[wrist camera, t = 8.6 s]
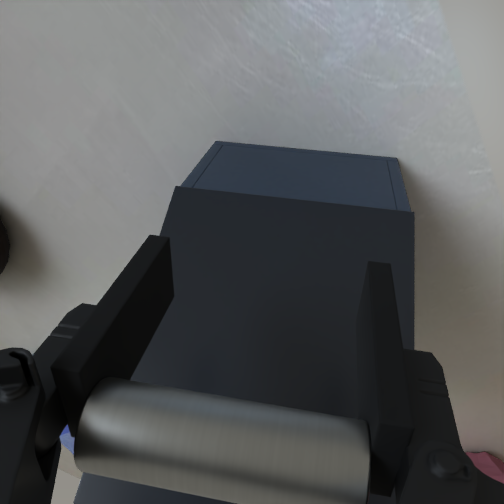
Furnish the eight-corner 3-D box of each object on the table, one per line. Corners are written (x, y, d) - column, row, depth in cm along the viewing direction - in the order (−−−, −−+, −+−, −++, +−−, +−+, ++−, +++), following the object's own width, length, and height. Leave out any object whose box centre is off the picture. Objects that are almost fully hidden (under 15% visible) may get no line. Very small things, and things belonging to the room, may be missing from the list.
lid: (409, 574, 17) (546, 649, 8) (80, 503, 19) (-96, 503, 10) (410, 219, 25) (482, 63, 16) (178, 193, 27) (127, 40, 18)
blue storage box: (361, 320, 41) (364, 397, 33) (217, 300, 43) (189, 368, 35) (397, 157, 32) (411, 211, 25) (215, 140, 34) (179, 186, 27)
